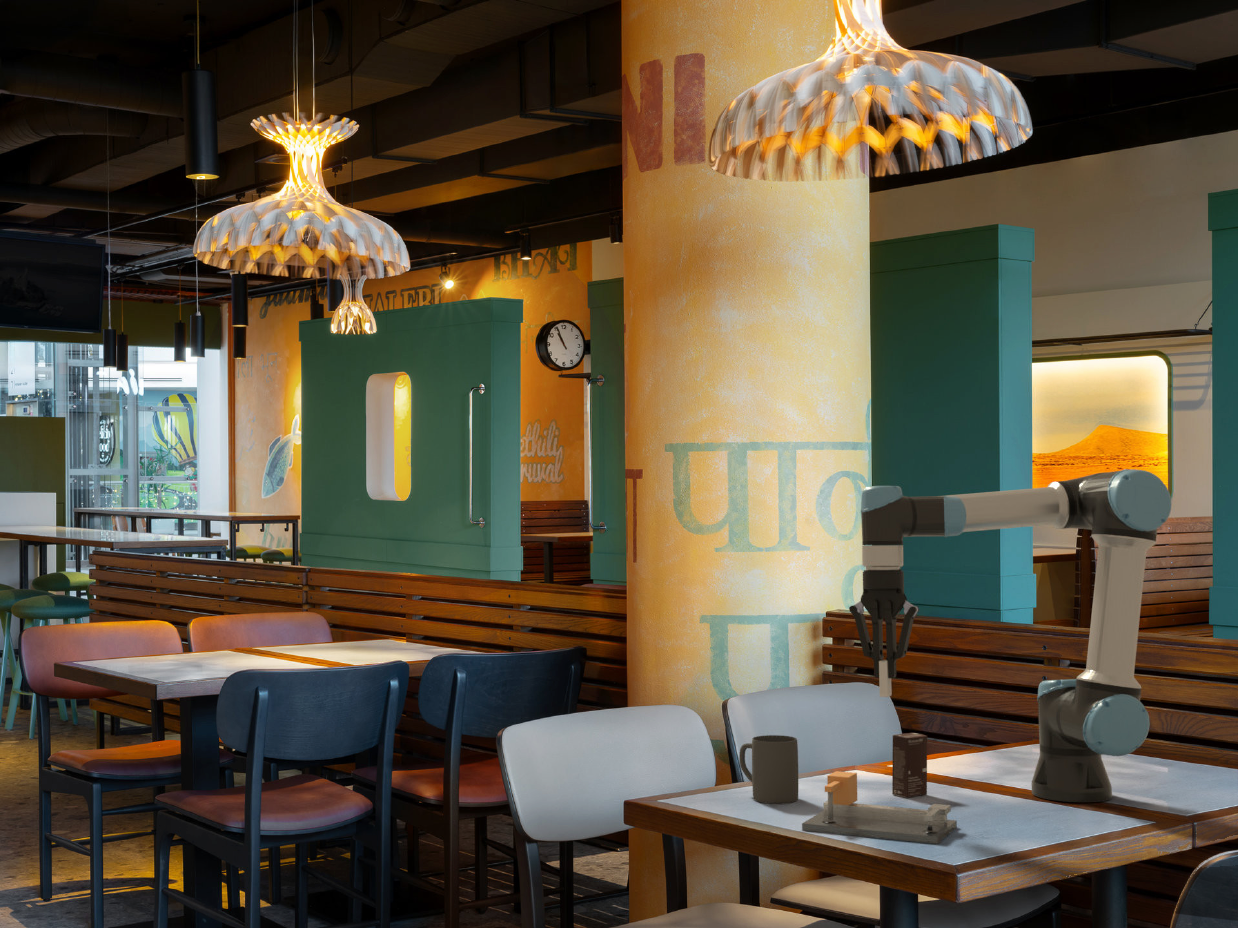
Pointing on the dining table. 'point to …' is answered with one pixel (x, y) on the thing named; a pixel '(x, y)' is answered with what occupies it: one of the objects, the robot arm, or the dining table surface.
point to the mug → (772, 768)
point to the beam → (894, 813)
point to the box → (909, 765)
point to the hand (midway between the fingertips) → (885, 695)
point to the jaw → (841, 790)
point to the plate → (879, 828)
